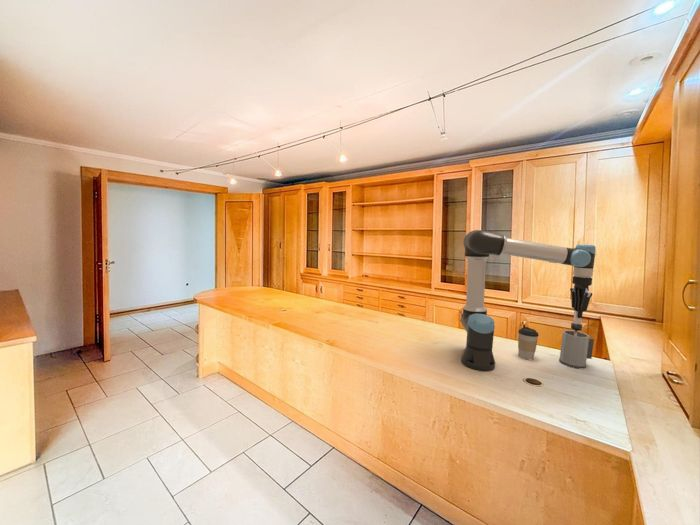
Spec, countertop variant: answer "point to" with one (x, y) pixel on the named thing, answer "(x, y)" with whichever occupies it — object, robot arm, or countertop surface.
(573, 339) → the press beaker
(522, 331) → the coffee cup
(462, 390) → the countertop surface
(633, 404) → the countertop surface
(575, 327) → the plunger
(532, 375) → the countertop surface
